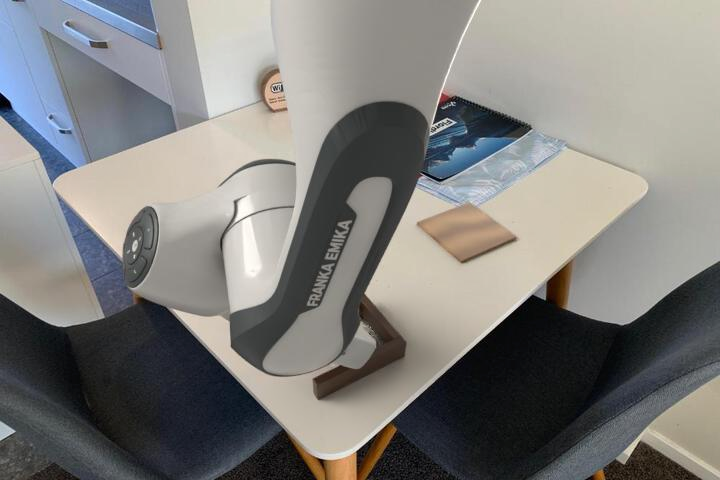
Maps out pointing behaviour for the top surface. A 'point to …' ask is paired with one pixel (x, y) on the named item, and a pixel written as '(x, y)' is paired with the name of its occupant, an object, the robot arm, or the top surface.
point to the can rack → (379, 359)
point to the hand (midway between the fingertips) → (344, 311)
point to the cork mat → (466, 231)
